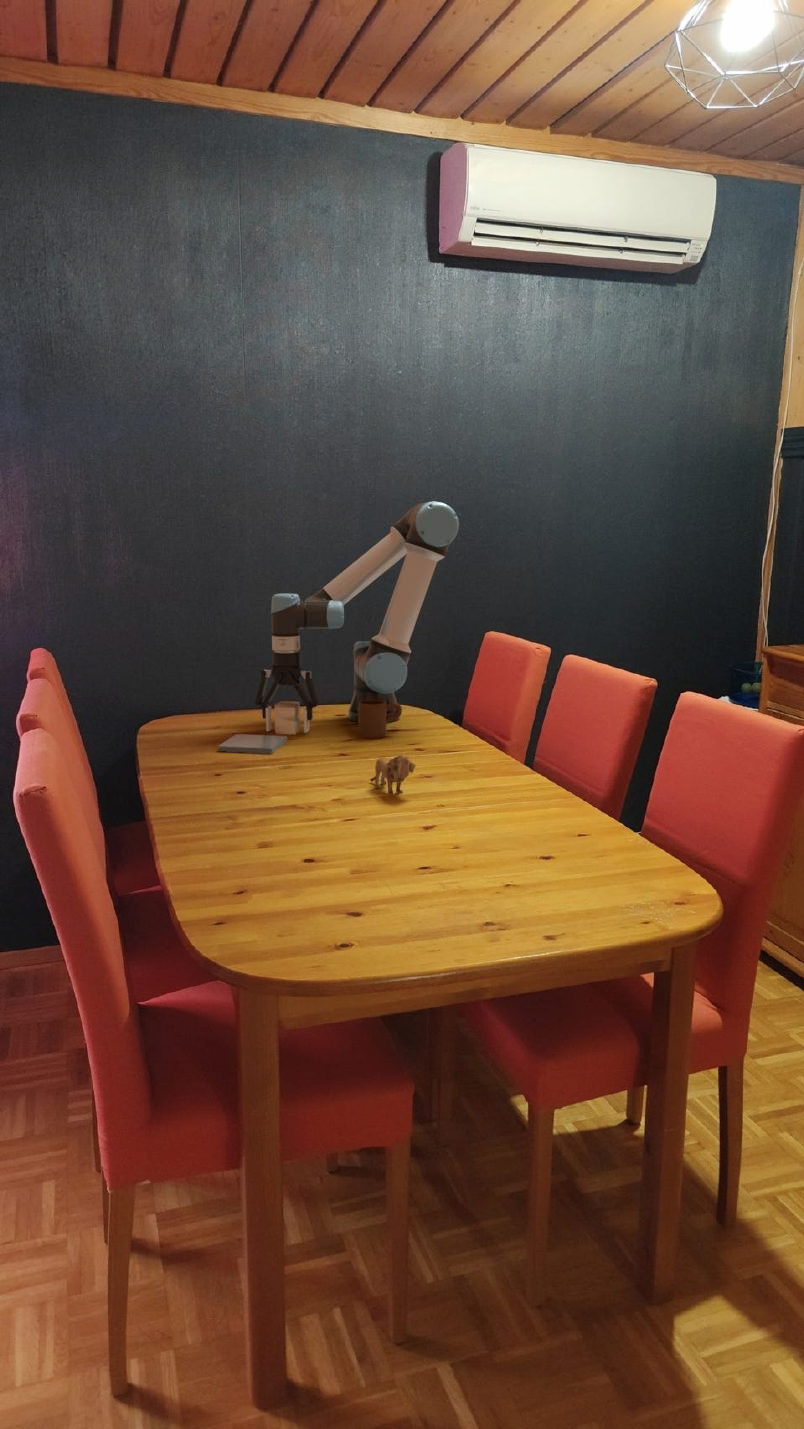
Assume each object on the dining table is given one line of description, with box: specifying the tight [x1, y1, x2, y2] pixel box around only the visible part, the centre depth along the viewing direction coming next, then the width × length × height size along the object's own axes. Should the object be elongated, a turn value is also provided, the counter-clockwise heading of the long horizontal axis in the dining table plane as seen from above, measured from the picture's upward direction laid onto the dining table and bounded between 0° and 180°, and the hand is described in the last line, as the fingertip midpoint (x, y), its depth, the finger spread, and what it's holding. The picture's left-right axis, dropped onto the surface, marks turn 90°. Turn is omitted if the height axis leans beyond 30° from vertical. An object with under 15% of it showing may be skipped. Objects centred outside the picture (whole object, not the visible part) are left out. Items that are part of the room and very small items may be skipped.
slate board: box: [217, 733, 288, 755], centre depth 249 cm, size 14×14×1 cm
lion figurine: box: [369, 754, 416, 797], centre depth 209 cm, size 15×5×9 cm, turn 36°
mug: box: [357, 700, 403, 740], centre depth 261 cm, size 12×8×9 cm, turn 102°
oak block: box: [273, 700, 301, 736], centre depth 265 cm, size 6×6×8 cm
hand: (287, 730), depth 266 cm, fingers open, 10 cm apart
